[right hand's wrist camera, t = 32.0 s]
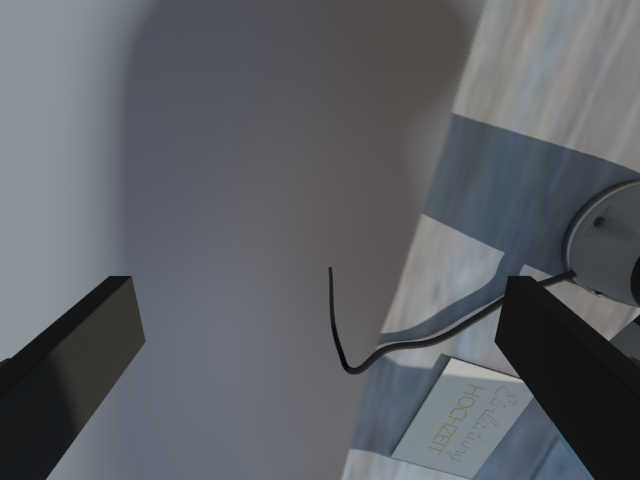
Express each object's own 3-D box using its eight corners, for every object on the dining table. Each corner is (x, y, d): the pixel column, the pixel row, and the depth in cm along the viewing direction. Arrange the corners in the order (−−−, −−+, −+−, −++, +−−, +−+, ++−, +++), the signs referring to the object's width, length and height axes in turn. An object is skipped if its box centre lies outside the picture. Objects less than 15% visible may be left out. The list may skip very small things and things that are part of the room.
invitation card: (451, 358, 52) (541, 386, 53) (451, 357, 52) (540, 385, 54) (391, 457, 59) (472, 479, 61) (390, 456, 59) (471, 477, 61)
